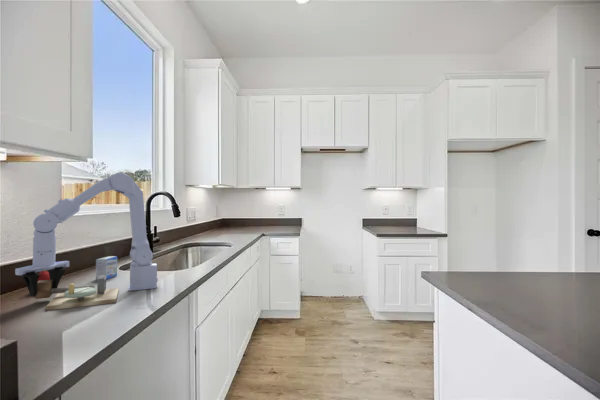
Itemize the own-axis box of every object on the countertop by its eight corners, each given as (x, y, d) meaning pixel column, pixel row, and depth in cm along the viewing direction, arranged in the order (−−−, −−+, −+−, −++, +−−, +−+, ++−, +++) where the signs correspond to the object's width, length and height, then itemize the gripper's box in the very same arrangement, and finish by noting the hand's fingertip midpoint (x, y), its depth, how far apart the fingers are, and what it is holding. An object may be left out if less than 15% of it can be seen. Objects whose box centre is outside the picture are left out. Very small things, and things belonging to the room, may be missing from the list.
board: (118, 291, 114) (118, 288, 114) (116, 302, 101) (116, 298, 101) (57, 297, 105) (57, 293, 105) (46, 310, 93) (46, 306, 93)
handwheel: (100, 298, 100) (100, 281, 100) (69, 304, 94) (69, 286, 94) (90, 293, 106) (91, 277, 106) (60, 299, 99) (61, 281, 99)
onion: (42, 294, 109) (42, 271, 109) (28, 293, 110) (29, 270, 110) (58, 289, 114) (58, 267, 114) (45, 288, 116) (45, 267, 116)
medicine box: (105, 280, 130) (106, 259, 130) (95, 279, 130) (95, 259, 130) (117, 275, 138) (117, 256, 138) (107, 275, 138) (107, 255, 138)
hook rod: (95, 290, 109) (95, 276, 109) (93, 293, 106) (94, 278, 106) (38, 296, 102) (38, 280, 102) (35, 299, 99) (35, 283, 99)
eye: (105, 289, 111) (106, 274, 111) (104, 293, 106) (104, 278, 106) (99, 290, 110) (99, 275, 110) (97, 294, 105) (97, 278, 105)
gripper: (25, 255, 93) (24, 301, 93) (75, 248, 106) (74, 288, 106) (11, 253, 95) (10, 298, 95) (62, 247, 109) (61, 286, 109)
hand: (43, 293), depth 101 cm, fingers open, 5 cm apart
